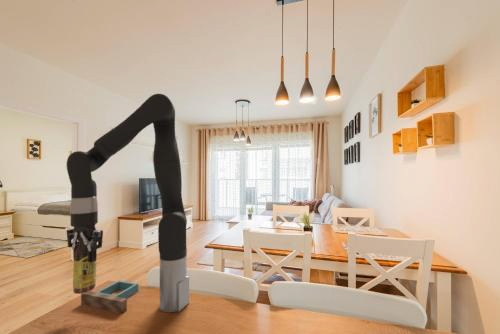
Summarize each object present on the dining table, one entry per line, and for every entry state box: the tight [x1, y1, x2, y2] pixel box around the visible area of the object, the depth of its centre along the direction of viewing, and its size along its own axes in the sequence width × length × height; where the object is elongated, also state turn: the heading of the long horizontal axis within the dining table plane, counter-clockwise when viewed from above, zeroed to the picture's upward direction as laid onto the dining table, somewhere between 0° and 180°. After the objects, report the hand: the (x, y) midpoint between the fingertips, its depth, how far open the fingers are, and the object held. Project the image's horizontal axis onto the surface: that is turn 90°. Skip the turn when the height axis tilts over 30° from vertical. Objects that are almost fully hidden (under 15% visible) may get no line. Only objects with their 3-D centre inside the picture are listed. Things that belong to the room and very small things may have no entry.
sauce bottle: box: [72, 231, 97, 295], centre depth 79 cm, size 7×6×20 cm
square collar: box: [95, 280, 139, 300], centre depth 90 cm, size 10×11×3 cm
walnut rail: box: [80, 291, 128, 314], centre depth 83 cm, size 19×2×4 cm, turn 72°
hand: (84, 260), depth 79 cm, fingers closed on sauce bottle, 6 cm apart
